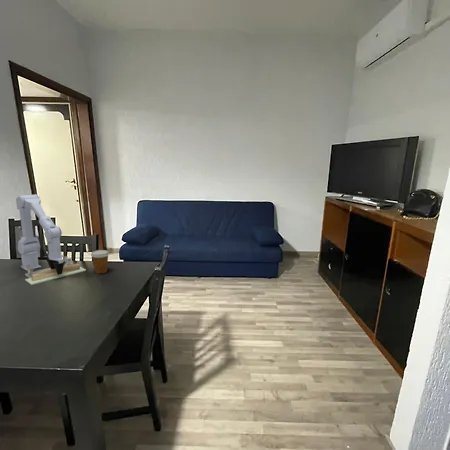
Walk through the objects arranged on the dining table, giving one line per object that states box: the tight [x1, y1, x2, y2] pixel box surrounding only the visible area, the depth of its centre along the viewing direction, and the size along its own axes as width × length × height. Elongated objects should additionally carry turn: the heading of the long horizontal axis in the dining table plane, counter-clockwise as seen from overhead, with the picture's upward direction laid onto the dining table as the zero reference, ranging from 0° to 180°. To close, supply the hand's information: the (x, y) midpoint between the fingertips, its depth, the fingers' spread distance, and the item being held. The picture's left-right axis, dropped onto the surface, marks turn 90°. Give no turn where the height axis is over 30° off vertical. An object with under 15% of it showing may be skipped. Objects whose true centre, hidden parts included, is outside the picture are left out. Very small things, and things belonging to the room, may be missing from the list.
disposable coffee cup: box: [90, 249, 110, 275], centre depth 165 cm, size 10×10×12 cm
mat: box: [24, 266, 87, 286], centre depth 159 cm, size 9×28×1 cm, turn 141°
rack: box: [24, 255, 72, 278], centre depth 164 cm, size 7×23×6 cm, turn 141°
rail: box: [31, 262, 81, 281], centre depth 159 cm, size 3×24×3 cm, turn 141°
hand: (56, 272), depth 159 cm, fingers open, 7 cm apart
